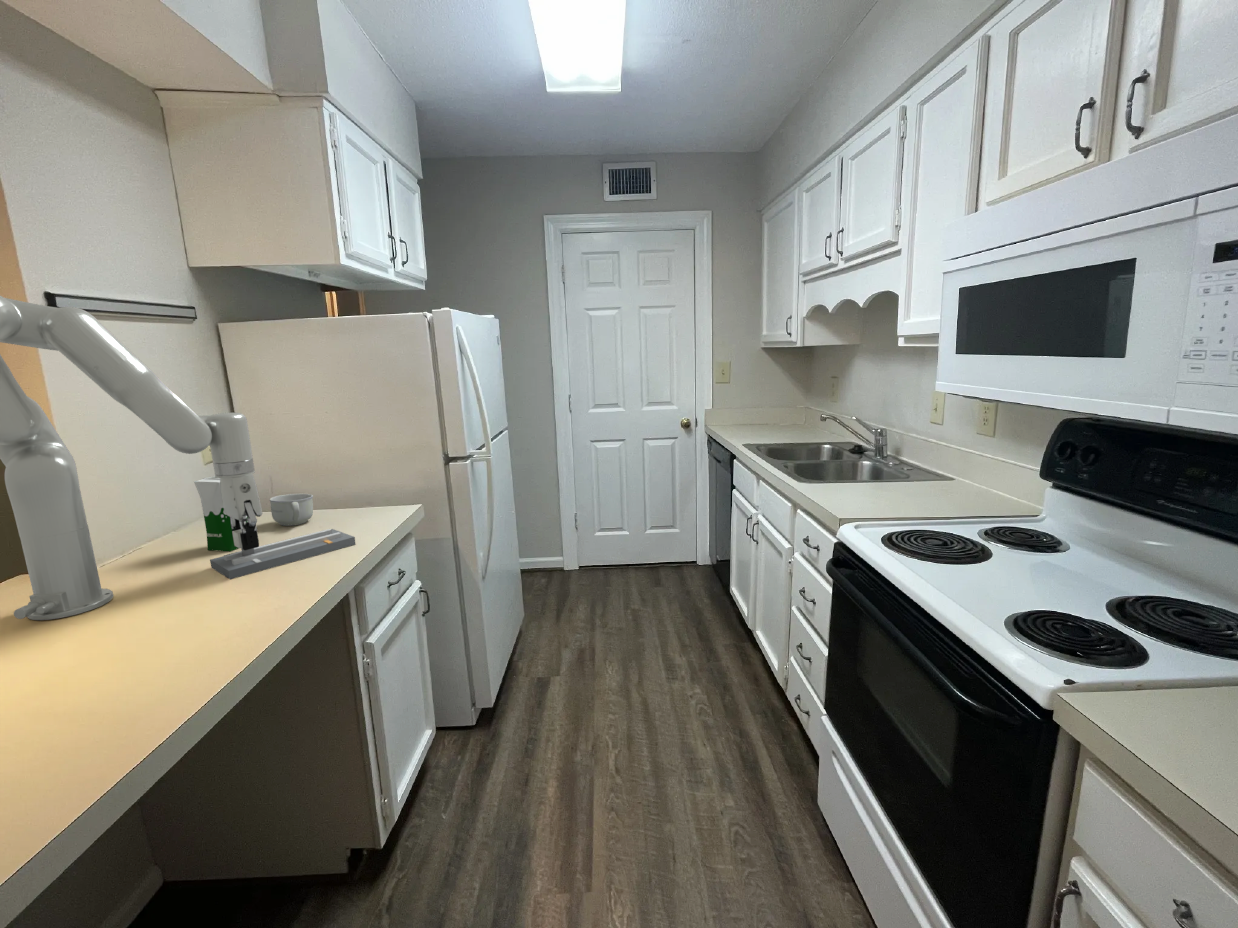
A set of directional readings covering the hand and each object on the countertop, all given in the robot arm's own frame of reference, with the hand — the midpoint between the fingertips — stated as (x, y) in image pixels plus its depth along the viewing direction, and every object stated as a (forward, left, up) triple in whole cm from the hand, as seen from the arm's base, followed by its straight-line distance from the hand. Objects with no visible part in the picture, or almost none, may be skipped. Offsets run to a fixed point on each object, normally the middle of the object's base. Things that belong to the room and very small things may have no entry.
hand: (246, 545), depth 134 cm
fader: (0, 0, -3) cm, 3 cm away
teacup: (+34, +4, -5) cm, 34 cm away
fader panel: (+6, -6, -5) cm, 9 cm away
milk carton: (+16, +12, -5) cm, 21 cm away
